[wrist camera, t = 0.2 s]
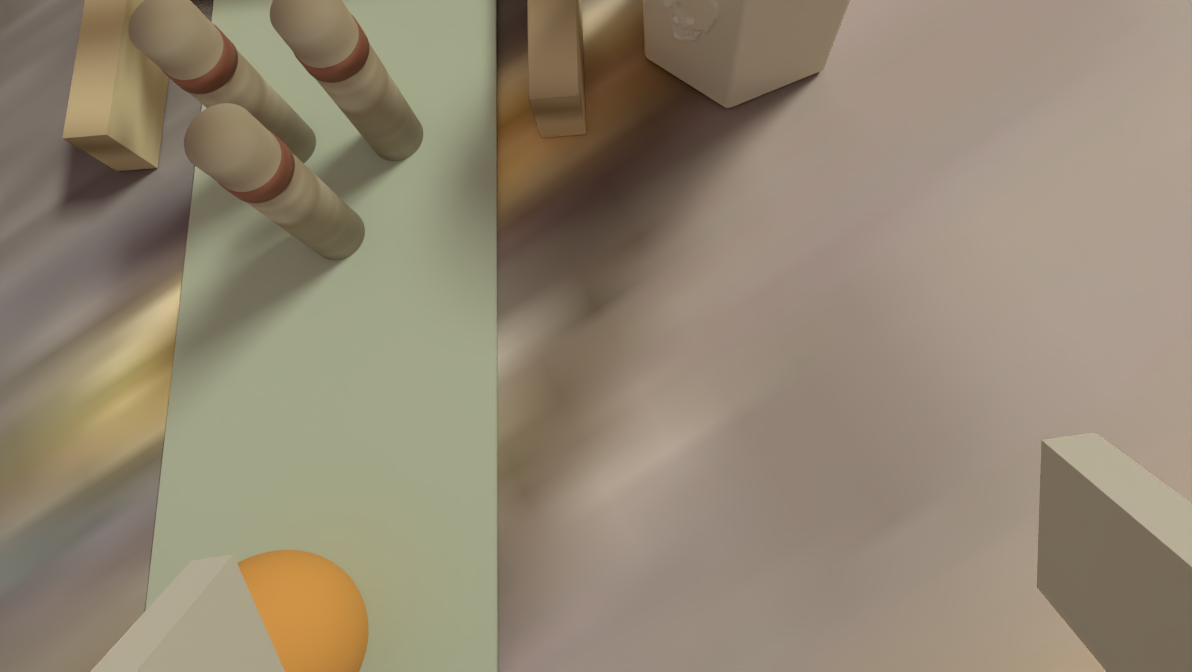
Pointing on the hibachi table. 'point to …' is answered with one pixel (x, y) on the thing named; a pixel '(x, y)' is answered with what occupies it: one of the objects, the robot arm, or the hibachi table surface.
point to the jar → (740, 43)
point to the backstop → (139, 87)
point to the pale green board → (354, 351)
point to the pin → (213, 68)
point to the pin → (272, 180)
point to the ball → (308, 610)
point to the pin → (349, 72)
